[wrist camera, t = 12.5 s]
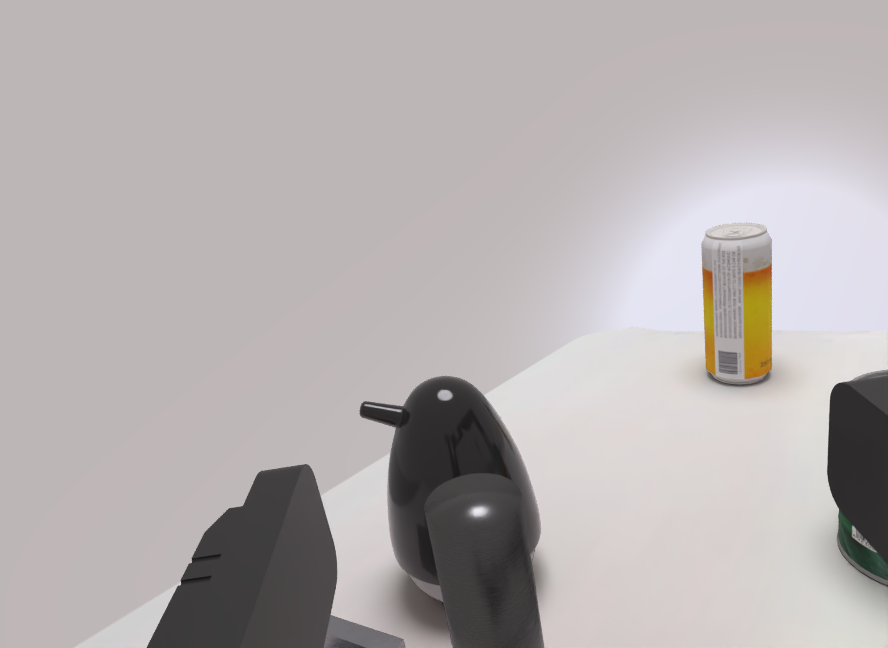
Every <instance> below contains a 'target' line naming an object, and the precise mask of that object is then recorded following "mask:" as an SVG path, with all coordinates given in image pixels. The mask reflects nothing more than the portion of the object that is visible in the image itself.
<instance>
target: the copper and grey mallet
mask: <svg viewBox="0 0 888 648" xmlns="http://www.w3.org/2000/svg"><path fill="white" fill-rule="evenodd" d="M424 511H425V516H426V521H427V526H428V531H429V536H430V540H431V545H432V550H433V555H434V560H435V564H436V569H437V574H438V579H439V584H440V588H441V593H442V598H443V603H444V608H445V612H446V617H447V622H448V627H449V631H450V636H451V641H452V646H453V648H544V642H543V636H542V629H541V622H540V615H539V609H538V602H537V595H536V588H535V582H534V575H533V568H532V562H531V555H530V548H529V541H528V535H527V528H526V521H525V515H524V508H523V501H522V494H521V491H520V489H519V487H518V486H517V485H516V484H515V483H514V482H513V481H511V480H510V479H508V478H506V477H503V476H500V475H496V474H489V473H475V474H468V475H463V476H459V477H456V478H453V479H451V480H449V481H447V482H445V483H443V484H441V485H440V486H438V487H437V488H436V489H434V490H433V491H432V492H431V494H430V495H429V496H428V498H427V500H426V502H425V506H424Z"/></svg>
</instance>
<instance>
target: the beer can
mask: <svg viewBox="0 0 888 648" xmlns="http://www.w3.org/2000/svg"><path fill="white" fill-rule="evenodd" d="M771 245H772V240H771V237H770V236H769V234H768V232H767V228H766V227H765V226H764V225H761V224H755V223H732V224H725V225H719V226H715V227H712V228H710V229H708V230H707V231H706V235H705V237H704V240H703V241H702V271H703V297H704V324H705V325H704V326H705V353H706V369H707V370H708V371H709V372H710V373H711V374H712V376H713V377H714V378H715V379H716V380H718V381H721V382H724V383H728V384H736V385H744V384H751V383H756V382H758V381H760V380H762V379H763V378H764V377H765V375H766V374H767V373H768V372H769V371H770V370H771V368H772V327H771V326H772V321H771V320H772V314H771V313H772V309H771V306H772V305H771V304H772V303H771V301H772V298H771V297H772V293H771V291H772V287H771V286H772V281H771V280H772V279H771V278H772V272H771V270H772V267H771V266H772V263H771V262H772V261H771V260H772V256H771V255H772V253H771V252H772V247H771Z"/></svg>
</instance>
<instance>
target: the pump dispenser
mask: <svg viewBox="0 0 888 648" xmlns="http://www.w3.org/2000/svg"><path fill="white" fill-rule="evenodd" d="M360 416H361V417H362V418H365V419H368V420H372V421H375V422H379V423H382V424H385V425H389V426H392V427H395V428H396V430H395V435H394V438H393V443H392V448H391V454H390V460H389V469H388V484H387V502H388V519H389V530H390V538H391V543H392V548H393V552H394V555H395V558H396V560H397V562H398V563H399V565H400V566H401V567H402V568H403V569H404V570H405V571H406V572H407V573H408V575H409V576H410V578H411V579H412V580H413V581H414V583H415V584H416V585H417V586H418V587H419V588H420V589H421V590H422V591H424V592H425V593H426V594H428V595H429V596H431V597H433V598H435V599H437V600H439V601H442V602H443V598H442V593H441V588H440V584H439V579H438V574H437V569H436V564H435V560H434V555H433V550H432V545H431V540H430V536H429V531H428V526H427V521H426V516H425V511H424V506H425V502H426V500H427V498H428V496H429V495H430V494H431V492H432V491H433V490H434V489H436V488H437V487H438V486H440V485H441V484H443V483H445V482H447V481H449V480H451V479H453V478H456V477H459V476H463V475H468V474H475V473H489V474H496V475H500V476H503V477H506V478H508V479H510V480H511V481H513V482H514V483H515V484H516V485H517V486H518V487H519V489H520V491H521V494H522V501H523V508H524V515H525V521H526V528H527V535H528V541H529V548H530V555H531V562H532V559H533V556H534V552H535V548H536V546H537V544H538V541H539V538H540V534H541V522H540V515H539V509H538V505H537V501H536V498H535V494H534V491H533V487H532V484H531V481H530V478H529V475H528V472H527V469H526V467H525V464H524V462H523V459H522V457H521V455H520V452H519V450H518V448H517V446H516V444H515V442H514V440H513V438H512V437H511V435H510V433H509V431H508V429H507V428H506V426H505V424H504V423H503V421H502V420H501V418H500V417H499V415H498V414H497V412H496V411H495V409H494V408H493V406H492V405H491V404H490V402H489V401H488V400H487V399H486V398H485V397H484V395H483V394H482V393H481V392H480V391H478V389H477V388H476V387H474V386H473V385H472V384H470V383H469V382H467V381H465V380H463V379H460V378H457V377H451V376H441V377H435V378H431V379H429V380H427V381H425V382H423V383H421V384H420V385H419V386H417V387H416V388H415V389H414V390H413V391H412V393H411V394H410V396H409V397H408V399H407V400H406V402H405V404H404V406H396V405H389V404H382V403H374V402H367V401H365V402H363V403H362V404H361V407H360Z"/></svg>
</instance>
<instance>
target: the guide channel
mask: <svg viewBox="0 0 888 648" xmlns="http://www.w3.org/2000/svg"><path fill="white" fill-rule="evenodd" d="M324 648H405V644H404V639H401V638H398V637H395V636H392V635H389V634H386V633H383V632H380V631H377V630H374V629H371V628H368V627H365V626H362V625H359V624H356V623H353V622H350V621H347V620H344V619H341V618H338V617H335V616H332V615H330V619H329V624H328V629H327V634H326V639H325V644H324Z"/></svg>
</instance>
